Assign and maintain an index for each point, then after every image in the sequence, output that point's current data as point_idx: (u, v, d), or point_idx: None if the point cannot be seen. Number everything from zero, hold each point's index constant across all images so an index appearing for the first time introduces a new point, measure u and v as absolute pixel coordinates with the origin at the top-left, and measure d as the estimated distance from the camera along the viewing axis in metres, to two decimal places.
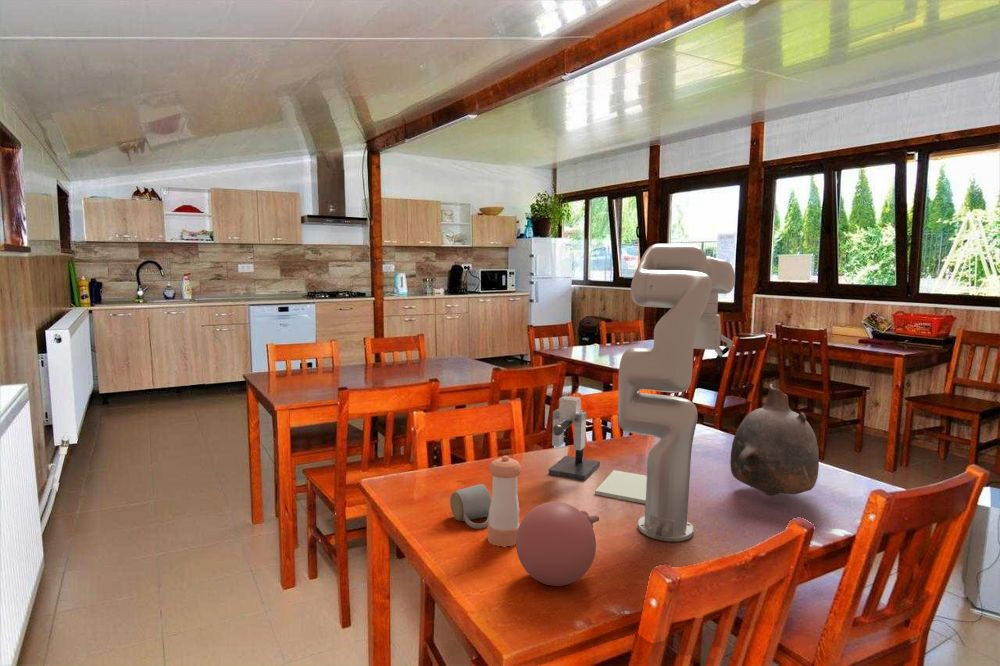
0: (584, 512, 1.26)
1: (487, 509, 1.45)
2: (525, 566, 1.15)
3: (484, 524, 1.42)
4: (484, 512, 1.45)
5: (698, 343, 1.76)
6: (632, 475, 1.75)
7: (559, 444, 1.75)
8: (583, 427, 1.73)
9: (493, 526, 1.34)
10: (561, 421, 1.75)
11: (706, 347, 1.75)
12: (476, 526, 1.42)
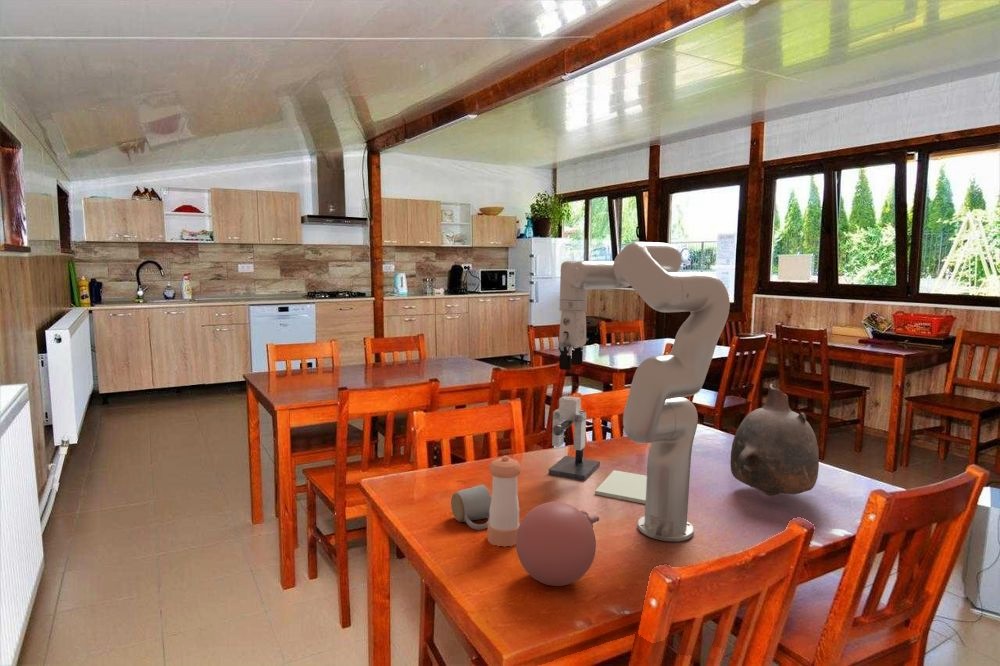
0: (584, 512, 1.26)
1: (488, 510, 1.45)
2: (525, 566, 1.15)
3: (485, 525, 1.42)
4: (485, 513, 1.45)
5: (581, 341, 1.70)
6: (632, 475, 1.75)
7: (559, 444, 1.75)
8: (583, 427, 1.73)
9: (493, 526, 1.34)
10: (561, 421, 1.75)
11: (583, 343, 1.72)
12: (477, 527, 1.41)
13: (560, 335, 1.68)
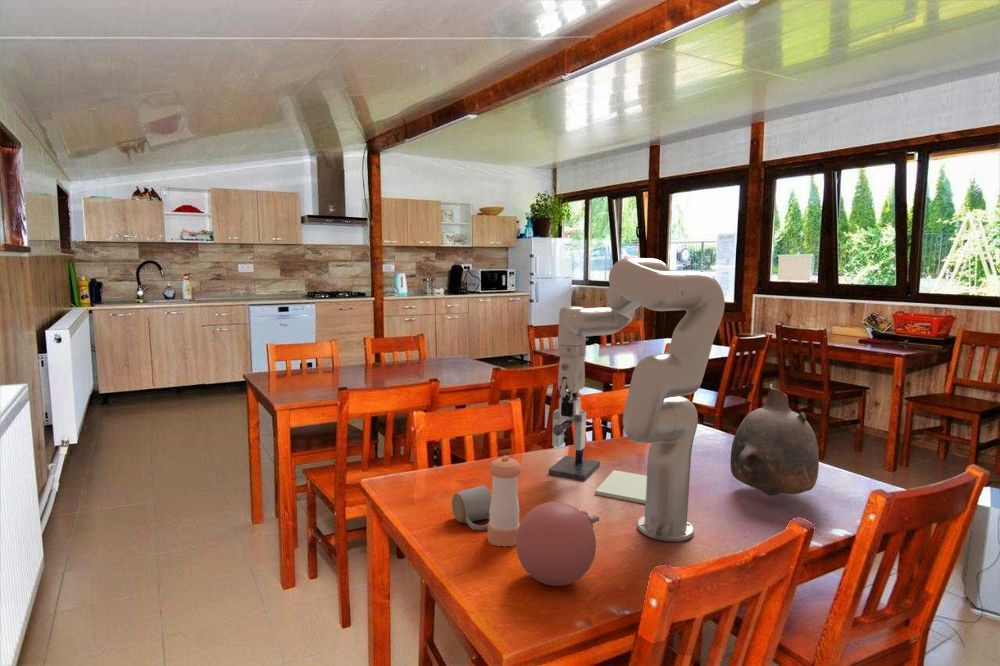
0: (584, 512, 1.26)
1: None
2: (525, 566, 1.15)
3: (486, 526, 1.41)
4: (486, 514, 1.44)
5: (579, 385, 1.71)
6: (632, 475, 1.75)
7: (559, 444, 1.75)
8: (583, 427, 1.73)
9: (493, 526, 1.34)
10: (561, 421, 1.75)
11: (581, 387, 1.73)
12: (478, 528, 1.41)
13: (559, 380, 1.69)
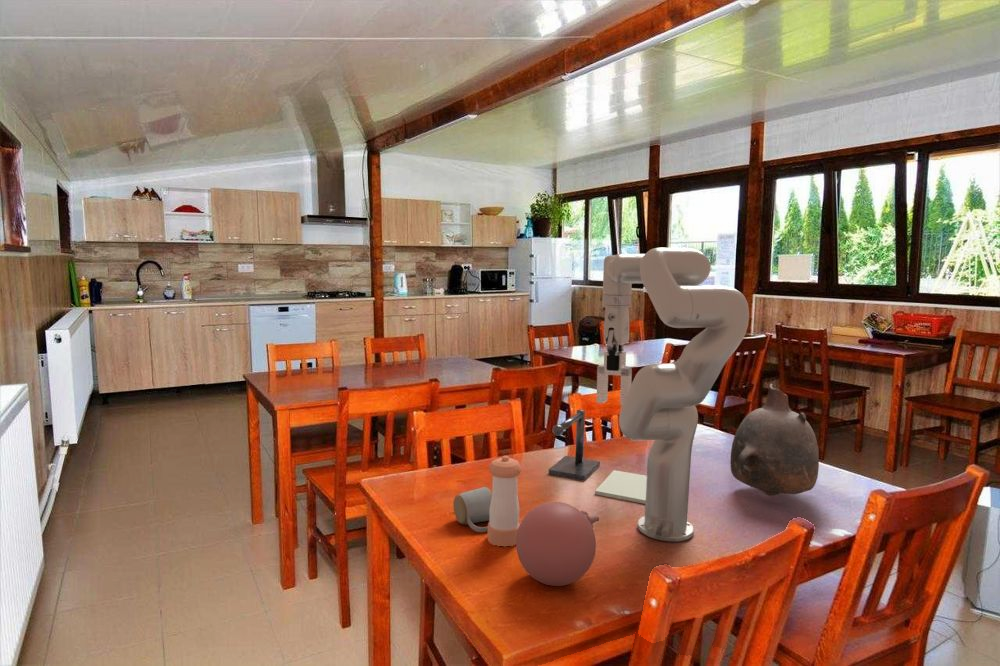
0: (584, 512, 1.26)
1: None
2: (525, 566, 1.15)
3: None
4: (488, 515, 1.44)
5: (625, 338, 1.64)
6: (632, 475, 1.75)
7: (604, 401, 1.67)
8: (630, 382, 1.65)
9: (493, 526, 1.34)
10: (605, 376, 1.68)
11: (627, 340, 1.66)
12: (480, 530, 1.40)
13: (605, 332, 1.62)
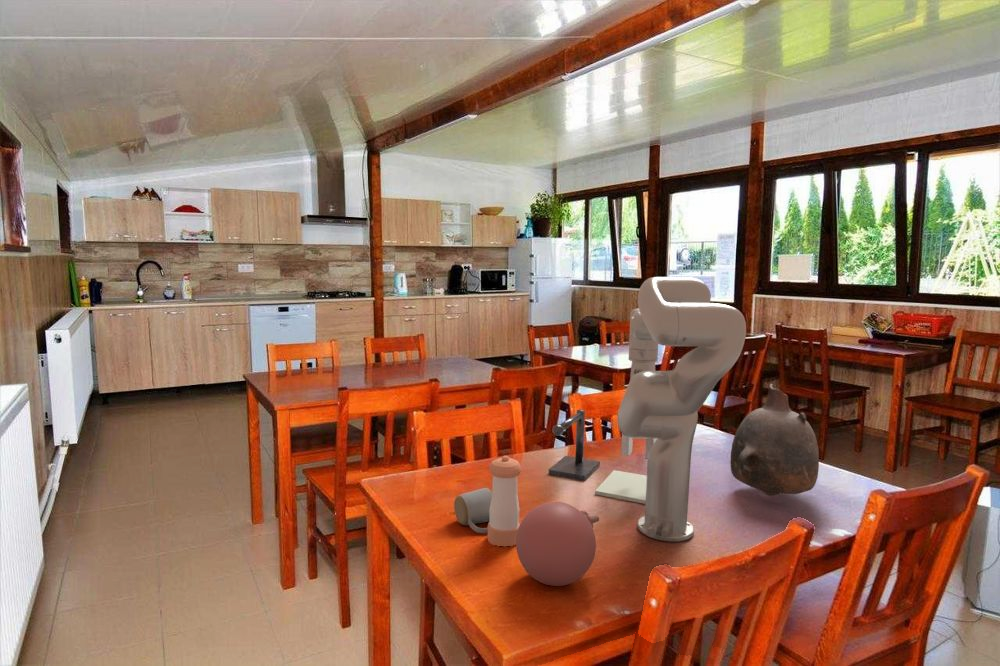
0: (584, 512, 1.26)
1: None
2: (525, 566, 1.15)
3: None
4: (489, 516, 1.43)
5: None
6: (632, 475, 1.75)
7: (629, 453, 1.66)
8: None
9: (493, 526, 1.34)
10: None
11: None
12: (481, 531, 1.39)
13: None
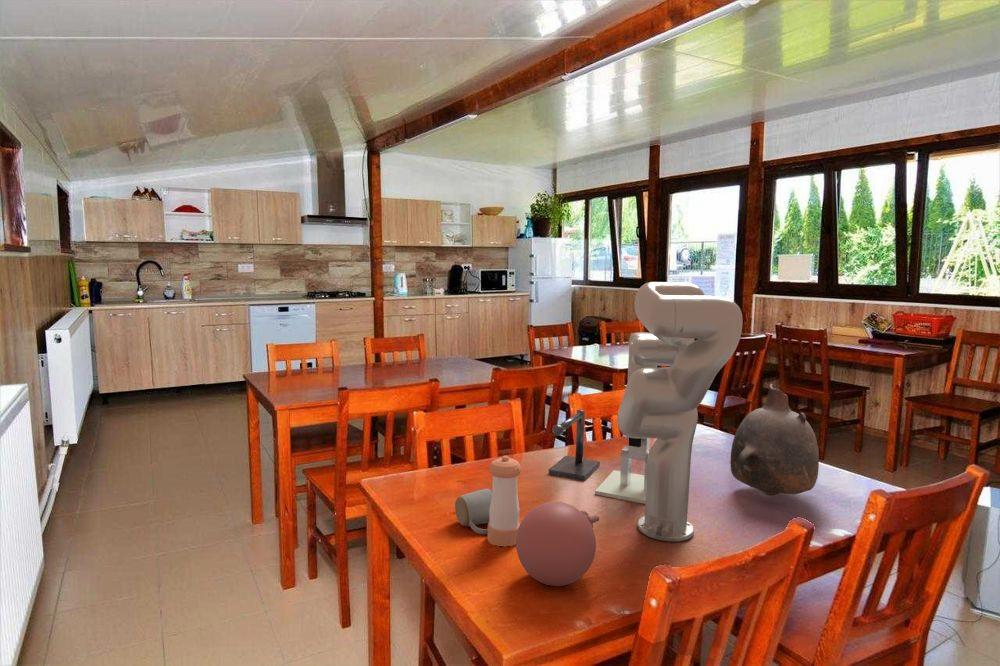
0: (584, 512, 1.26)
1: None
2: (525, 566, 1.15)
3: None
4: None
5: None
6: (632, 475, 1.75)
7: (627, 484, 1.67)
8: None
9: (493, 526, 1.34)
10: (629, 460, 1.67)
11: None
12: (482, 532, 1.39)
13: None
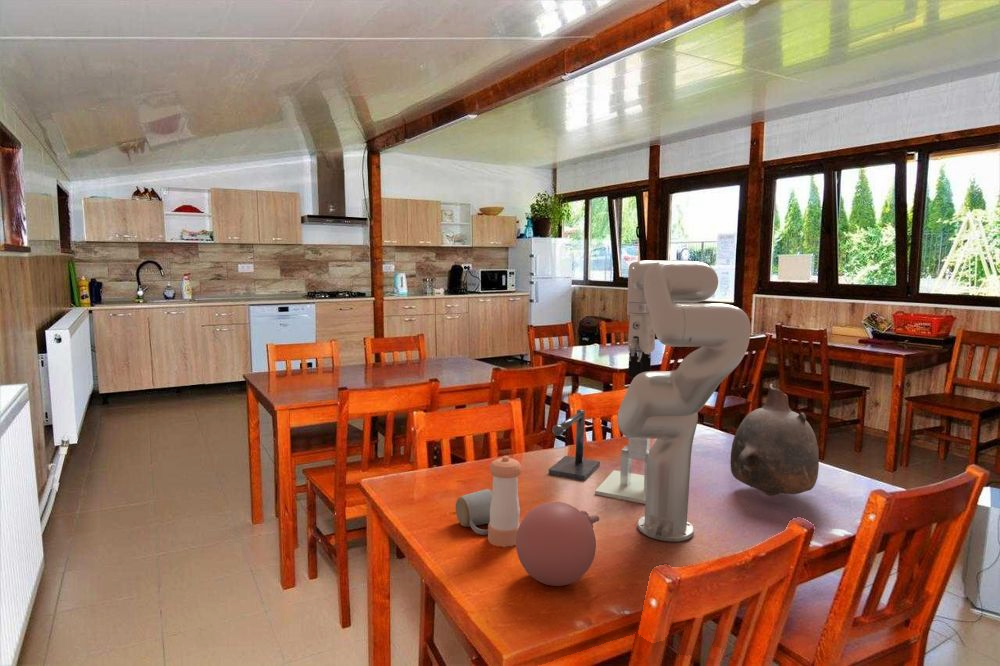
0: (584, 512, 1.26)
1: None
2: (525, 566, 1.15)
3: None
4: None
5: (650, 347, 1.60)
6: (632, 475, 1.75)
7: (627, 484, 1.67)
8: None
9: (494, 526, 1.34)
10: (629, 460, 1.67)
11: (652, 349, 1.62)
12: (483, 532, 1.38)
13: (629, 340, 1.58)
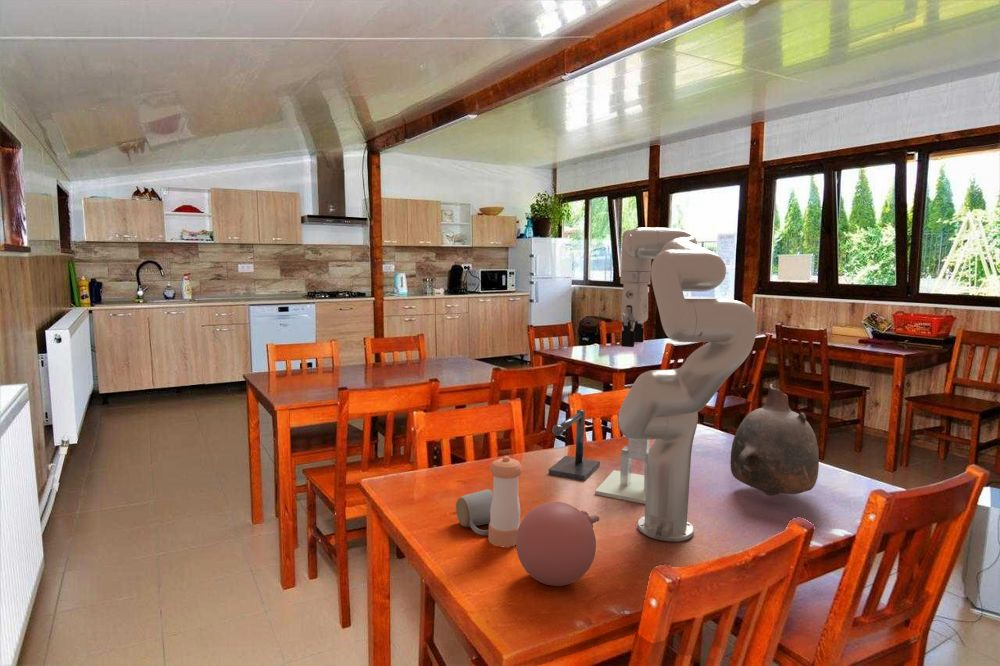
0: (584, 512, 1.26)
1: None
2: (525, 566, 1.15)
3: None
4: None
5: (644, 316, 1.57)
6: (632, 475, 1.75)
7: (627, 484, 1.67)
8: None
9: (494, 527, 1.34)
10: (629, 460, 1.67)
11: (645, 319, 1.59)
12: (483, 533, 1.38)
13: (622, 309, 1.55)
